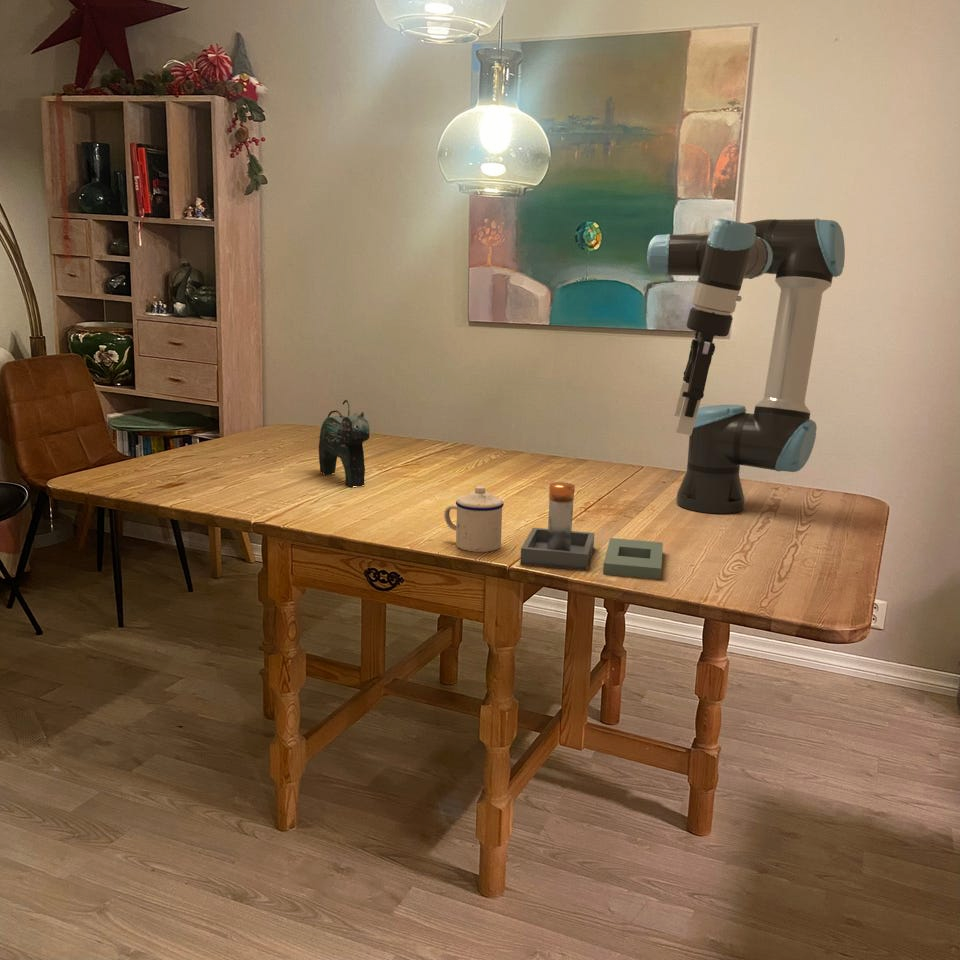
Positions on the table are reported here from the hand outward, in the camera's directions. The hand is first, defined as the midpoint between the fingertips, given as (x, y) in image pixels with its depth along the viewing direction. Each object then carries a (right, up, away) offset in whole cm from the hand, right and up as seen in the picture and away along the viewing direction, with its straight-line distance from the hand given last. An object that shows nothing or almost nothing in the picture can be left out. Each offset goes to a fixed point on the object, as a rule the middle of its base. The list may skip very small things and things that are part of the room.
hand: (682, 425), depth 171 cm
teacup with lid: (-39, -23, +9) cm, 46 cm away
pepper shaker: (-22, -24, +3) cm, 33 cm away
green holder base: (-9, -25, +1) cm, 27 cm away
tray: (-22, -24, +3) cm, 33 cm away
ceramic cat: (-71, -10, +57) cm, 92 cm away
